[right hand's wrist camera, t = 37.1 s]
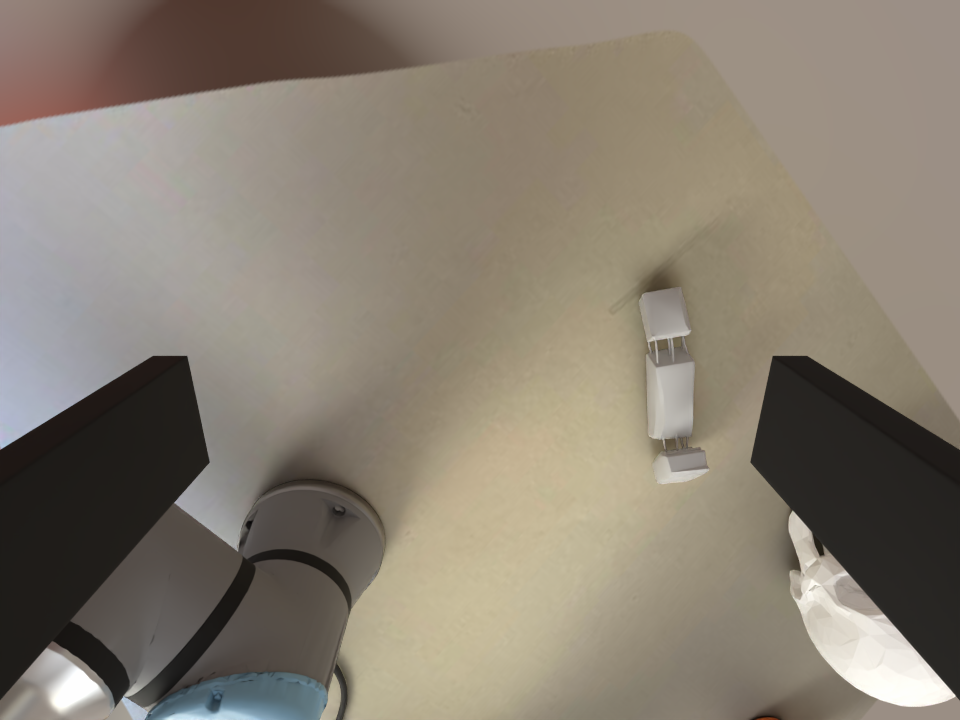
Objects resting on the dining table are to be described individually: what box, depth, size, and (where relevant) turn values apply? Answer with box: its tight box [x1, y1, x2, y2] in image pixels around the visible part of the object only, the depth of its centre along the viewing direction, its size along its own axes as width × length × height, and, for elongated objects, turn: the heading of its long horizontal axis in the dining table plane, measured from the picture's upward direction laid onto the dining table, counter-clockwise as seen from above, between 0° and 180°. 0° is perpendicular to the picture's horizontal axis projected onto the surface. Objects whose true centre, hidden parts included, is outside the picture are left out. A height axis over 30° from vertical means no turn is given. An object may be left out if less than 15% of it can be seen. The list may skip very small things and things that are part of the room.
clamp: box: [639, 287, 709, 484], centre depth 50 cm, size 20×4×7 cm, turn 10°
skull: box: [788, 511, 955, 707], centre depth 52 cm, size 13×22×16 cm, turn 22°
